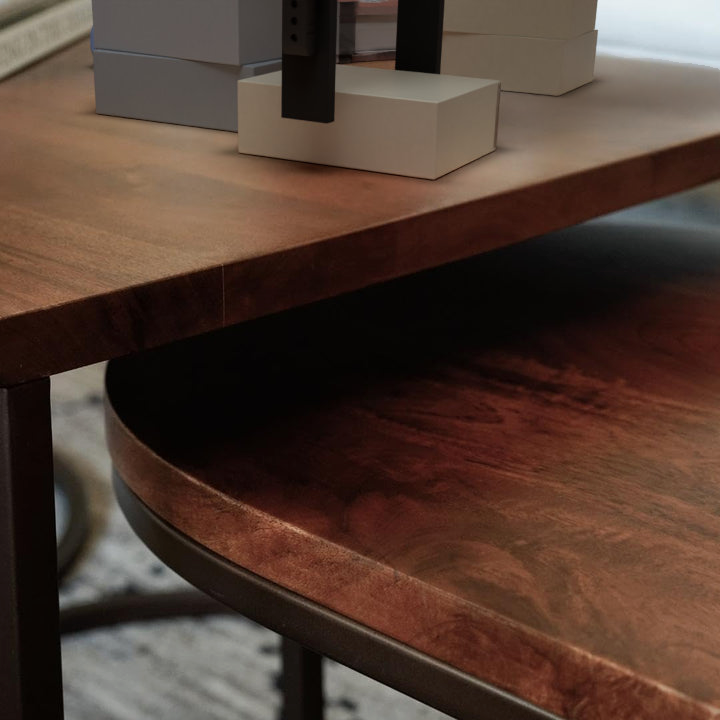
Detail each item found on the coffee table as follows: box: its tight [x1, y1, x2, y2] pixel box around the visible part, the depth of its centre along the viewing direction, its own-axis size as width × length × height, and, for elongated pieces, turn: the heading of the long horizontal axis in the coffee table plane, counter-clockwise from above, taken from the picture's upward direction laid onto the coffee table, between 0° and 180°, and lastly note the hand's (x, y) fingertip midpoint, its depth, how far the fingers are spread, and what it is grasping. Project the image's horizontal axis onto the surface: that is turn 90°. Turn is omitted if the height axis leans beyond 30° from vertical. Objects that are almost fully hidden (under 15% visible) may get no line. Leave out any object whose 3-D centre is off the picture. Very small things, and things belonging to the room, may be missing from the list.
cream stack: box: [440, 0, 599, 97], centre depth 91 cm, size 12×10×8 cm
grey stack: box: [91, 0, 282, 133], centre depth 75 cm, size 12×10×8 cm
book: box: [336, 0, 398, 64], centre depth 106 cm, size 26×18×5 cm
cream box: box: [237, 63, 502, 180], centre depth 66 cm, size 12×9×4 cm
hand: (366, 102), depth 65 cm, fingers open, 13 cm apart
